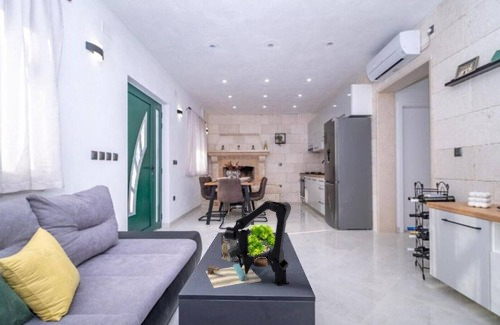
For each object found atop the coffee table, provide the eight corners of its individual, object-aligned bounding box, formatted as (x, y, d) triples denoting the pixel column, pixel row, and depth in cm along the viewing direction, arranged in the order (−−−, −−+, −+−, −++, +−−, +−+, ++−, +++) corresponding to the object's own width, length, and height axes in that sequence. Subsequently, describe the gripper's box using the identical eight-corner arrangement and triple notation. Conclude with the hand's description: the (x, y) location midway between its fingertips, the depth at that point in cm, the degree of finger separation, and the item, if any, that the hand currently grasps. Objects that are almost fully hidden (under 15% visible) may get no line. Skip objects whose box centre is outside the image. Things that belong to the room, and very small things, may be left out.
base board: (261, 281, 128) (261, 279, 128) (214, 289, 120) (214, 287, 120) (247, 266, 148) (247, 265, 148) (205, 272, 139) (205, 271, 139)
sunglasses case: (269, 266, 147) (263, 256, 147) (258, 272, 147) (252, 262, 147) (268, 256, 165) (262, 247, 165) (258, 261, 165) (253, 252, 165)
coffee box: (220, 259, 160) (220, 233, 161) (229, 256, 165) (228, 231, 165) (229, 262, 153) (229, 235, 154) (237, 260, 158) (237, 234, 158)
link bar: (246, 280, 127) (246, 276, 127) (241, 281, 126) (240, 276, 126) (238, 266, 145) (238, 263, 145) (233, 267, 144) (233, 263, 144)
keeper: (219, 274, 135) (219, 267, 135) (216, 276, 133) (216, 269, 133) (210, 271, 138) (210, 265, 138) (207, 273, 136) (207, 267, 136)
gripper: (224, 238, 143) (225, 266, 143) (233, 248, 126) (233, 280, 125) (243, 236, 147) (244, 263, 147) (254, 245, 129) (255, 276, 129)
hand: (243, 270), depth 137 cm, fingers open, 9 cm apart
